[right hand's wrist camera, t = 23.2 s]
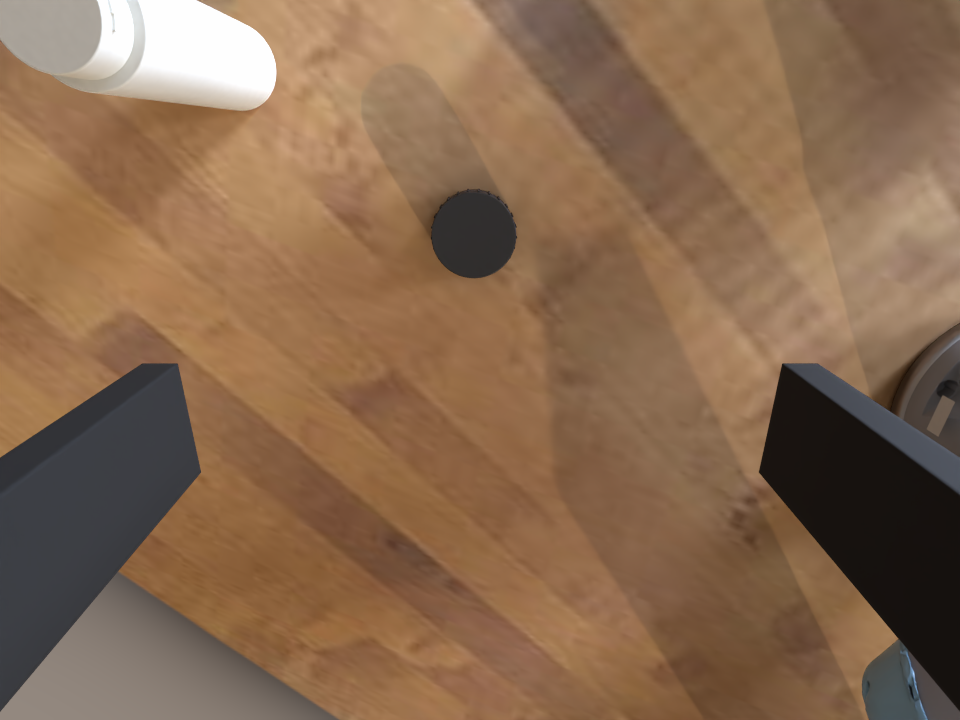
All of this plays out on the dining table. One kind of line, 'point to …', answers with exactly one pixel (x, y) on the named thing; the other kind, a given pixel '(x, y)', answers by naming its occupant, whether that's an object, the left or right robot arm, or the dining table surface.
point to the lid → (473, 234)
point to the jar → (143, 50)
